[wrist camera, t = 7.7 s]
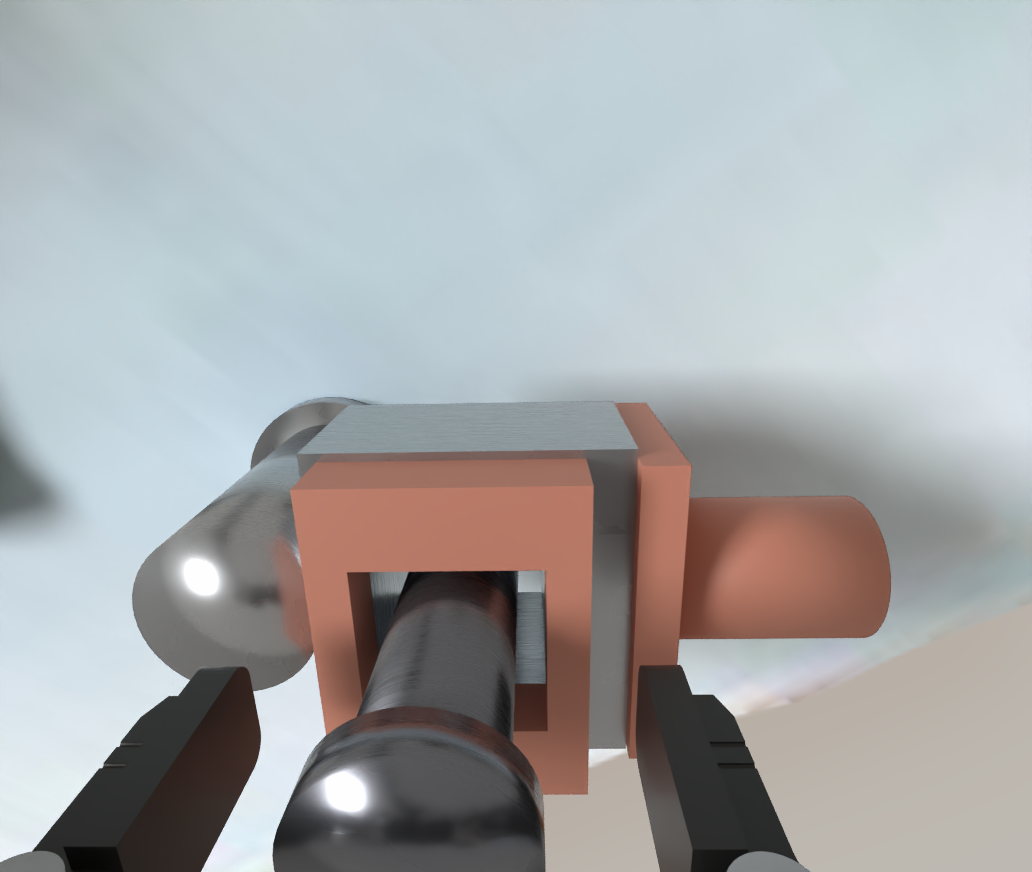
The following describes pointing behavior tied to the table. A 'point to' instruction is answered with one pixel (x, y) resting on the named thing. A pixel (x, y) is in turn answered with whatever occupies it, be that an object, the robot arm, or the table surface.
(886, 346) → the table surface
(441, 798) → the steel pin
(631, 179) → the table surface
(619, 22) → the table surface
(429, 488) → the bracket
